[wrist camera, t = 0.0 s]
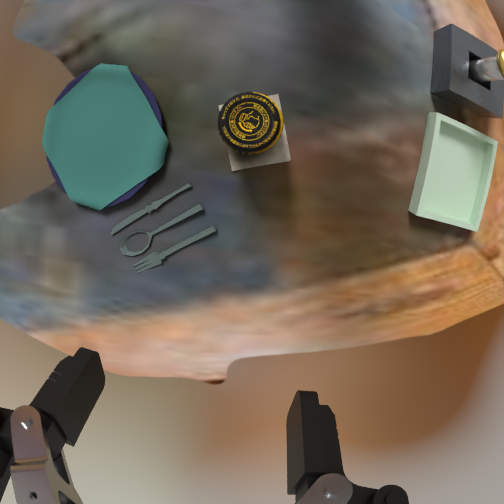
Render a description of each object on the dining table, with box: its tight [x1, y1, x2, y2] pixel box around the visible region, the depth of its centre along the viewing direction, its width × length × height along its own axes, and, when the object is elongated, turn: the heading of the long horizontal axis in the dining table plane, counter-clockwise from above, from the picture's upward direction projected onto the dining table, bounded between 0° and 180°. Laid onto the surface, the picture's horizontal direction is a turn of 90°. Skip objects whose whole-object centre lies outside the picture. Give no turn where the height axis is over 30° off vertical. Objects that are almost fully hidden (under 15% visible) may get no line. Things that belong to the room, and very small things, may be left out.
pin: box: [468, 49, 504, 82], centre depth 22 cm, size 4×4×12 cm
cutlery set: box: [42, 63, 217, 273], centre depth 36 cm, size 20×30×2 cm, turn 28°
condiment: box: [218, 92, 291, 171], centre depth 28 cm, size 7×8×12 cm
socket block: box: [430, 24, 504, 119], centre depth 25 cm, size 10×10×5 cm
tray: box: [408, 112, 498, 232], centre depth 32 cm, size 14×12×2 cm
